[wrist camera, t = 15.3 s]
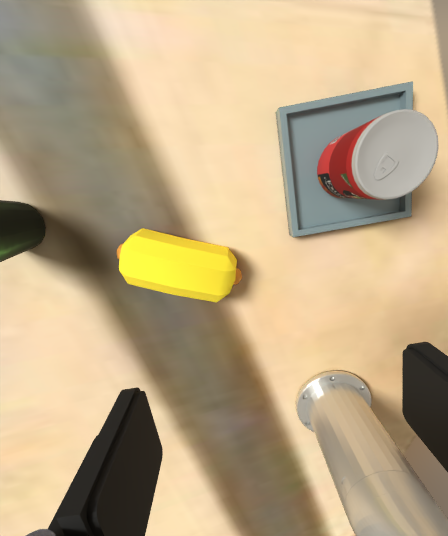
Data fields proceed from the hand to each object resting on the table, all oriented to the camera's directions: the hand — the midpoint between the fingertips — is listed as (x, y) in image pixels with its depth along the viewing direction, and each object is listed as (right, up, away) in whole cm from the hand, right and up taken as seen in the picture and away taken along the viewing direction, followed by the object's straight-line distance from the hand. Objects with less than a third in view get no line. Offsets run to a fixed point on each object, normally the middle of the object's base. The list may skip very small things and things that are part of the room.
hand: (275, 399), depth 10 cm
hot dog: (-8, +6, +30) cm, 32 cm away
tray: (+14, +18, +26) cm, 35 cm away
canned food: (+14, +18, +26) cm, 35 cm away
